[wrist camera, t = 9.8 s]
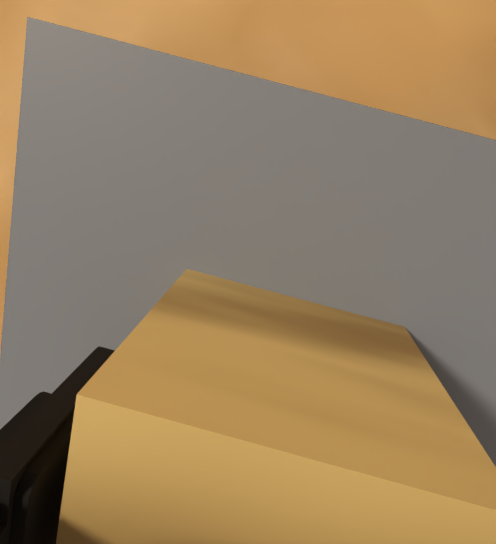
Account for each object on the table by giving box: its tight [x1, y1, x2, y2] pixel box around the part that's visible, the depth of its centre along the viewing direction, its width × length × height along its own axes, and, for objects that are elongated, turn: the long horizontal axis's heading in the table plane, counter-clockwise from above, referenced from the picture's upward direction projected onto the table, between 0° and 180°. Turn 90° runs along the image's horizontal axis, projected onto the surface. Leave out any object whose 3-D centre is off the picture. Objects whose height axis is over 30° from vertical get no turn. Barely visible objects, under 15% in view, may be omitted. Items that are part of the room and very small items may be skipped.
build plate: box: [0, 17, 496, 467], centre depth 13 cm, size 16×16×1 cm
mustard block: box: [56, 269, 496, 544], centre depth 9 cm, size 6×6×6 cm
